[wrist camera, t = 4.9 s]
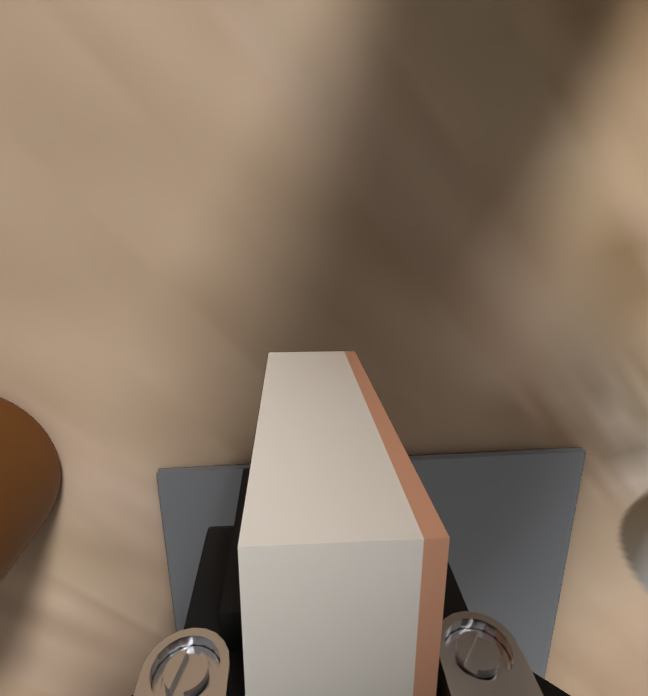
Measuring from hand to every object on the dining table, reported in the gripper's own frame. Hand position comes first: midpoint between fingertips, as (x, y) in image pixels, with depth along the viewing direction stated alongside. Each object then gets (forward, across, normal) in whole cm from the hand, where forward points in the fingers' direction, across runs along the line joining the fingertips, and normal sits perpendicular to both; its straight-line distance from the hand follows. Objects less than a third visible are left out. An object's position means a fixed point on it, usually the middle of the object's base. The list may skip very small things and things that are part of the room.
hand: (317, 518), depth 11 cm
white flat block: (+3, 0, 0) cm, 3 cm away
